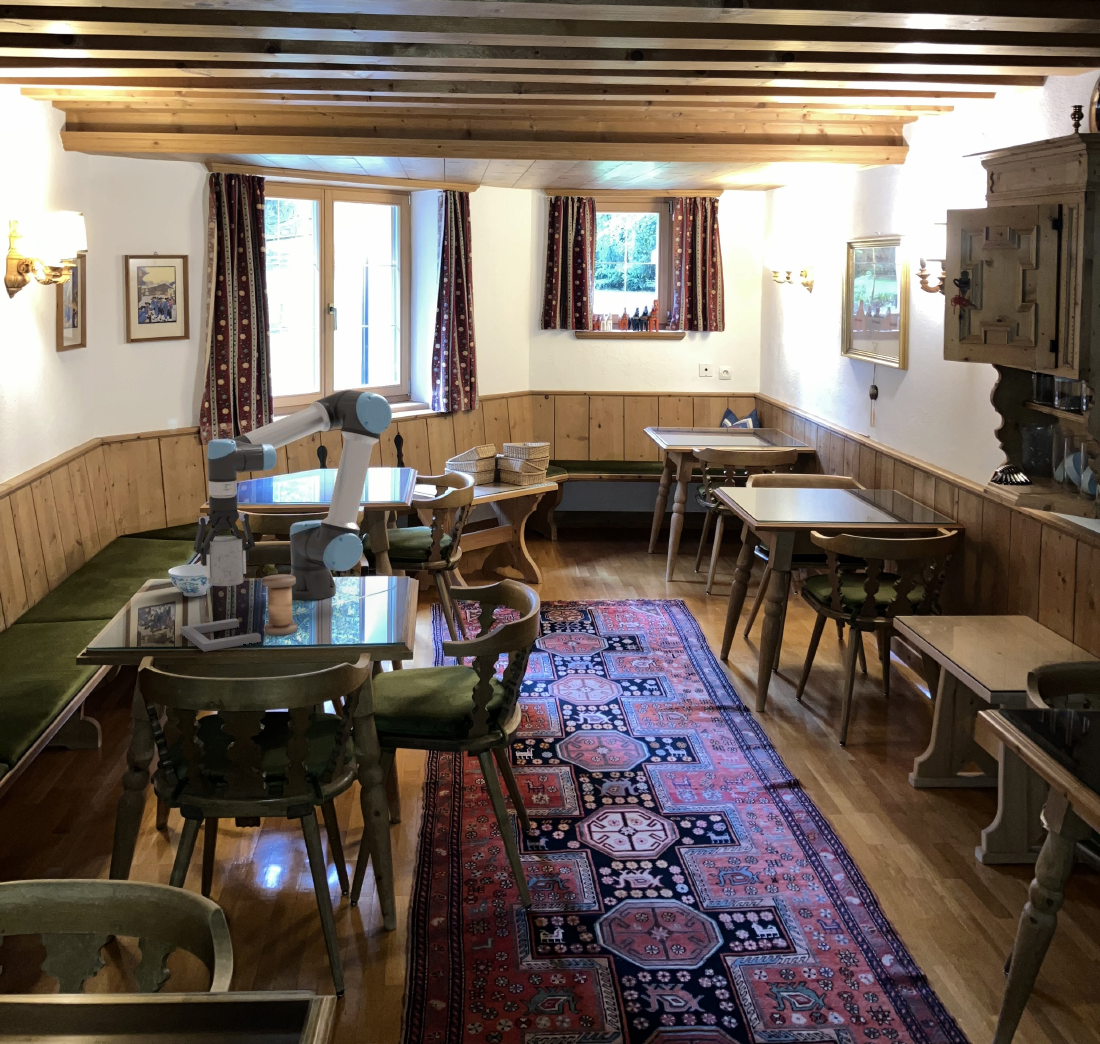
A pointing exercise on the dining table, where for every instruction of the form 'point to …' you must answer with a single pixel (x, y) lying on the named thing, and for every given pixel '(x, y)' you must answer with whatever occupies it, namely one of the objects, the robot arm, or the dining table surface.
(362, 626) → the dining table surface
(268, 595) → the bobbin
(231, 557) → the white scuffed cylinder
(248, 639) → the c-shaped bracket
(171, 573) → the chinaware
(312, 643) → the dining table surface
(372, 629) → the dining table surface
